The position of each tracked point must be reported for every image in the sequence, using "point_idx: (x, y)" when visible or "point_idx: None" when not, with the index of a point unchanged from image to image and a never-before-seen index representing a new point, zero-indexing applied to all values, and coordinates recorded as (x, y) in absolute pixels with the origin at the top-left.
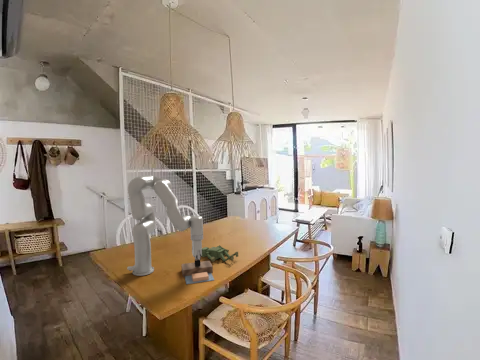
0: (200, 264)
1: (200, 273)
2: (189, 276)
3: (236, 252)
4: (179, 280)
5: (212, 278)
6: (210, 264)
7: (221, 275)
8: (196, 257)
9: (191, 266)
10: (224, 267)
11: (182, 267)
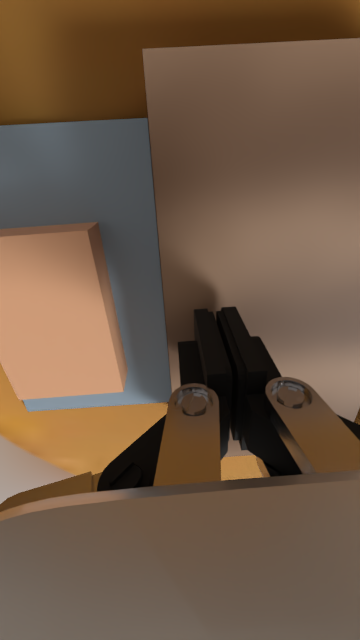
0: (285, 366)
1: (91, 335)
2: (126, 193)
3: None
4: (27, 9)
5: (53, 401)
6: (237, 448)
7: (114, 450)
8: (285, 439)
9: (270, 248)
10: (244, 473)
11: (298, 48)
